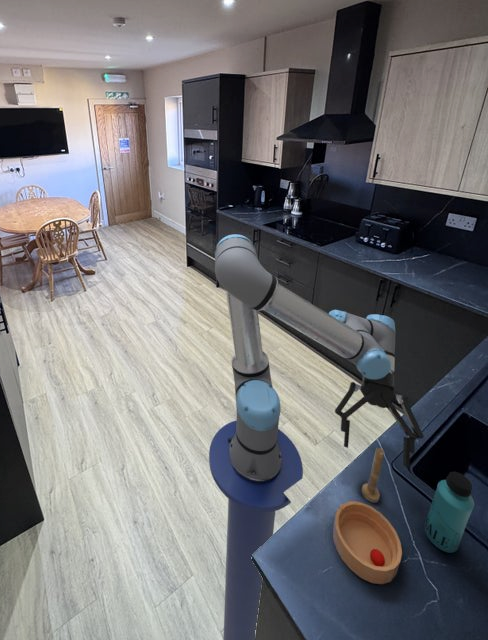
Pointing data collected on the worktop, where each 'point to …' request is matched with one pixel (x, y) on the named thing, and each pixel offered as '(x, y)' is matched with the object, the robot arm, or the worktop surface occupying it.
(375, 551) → the cherry tomato
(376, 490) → the wooden peg
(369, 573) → the bowl
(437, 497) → the beverage bottle
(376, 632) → the worktop surface
